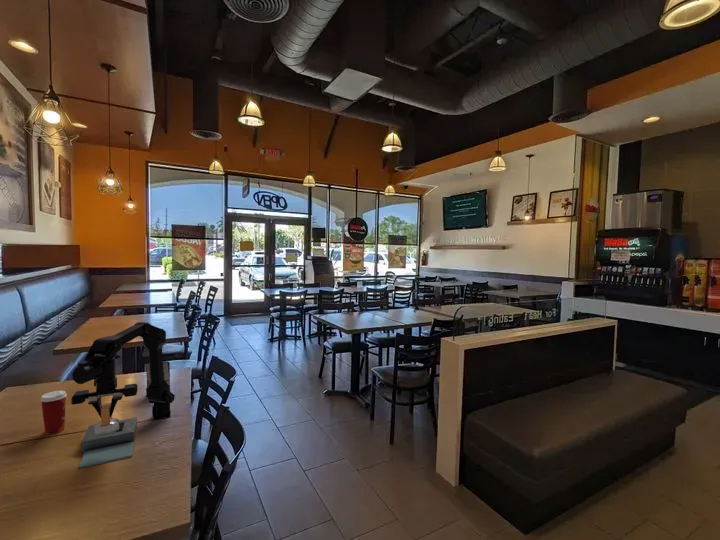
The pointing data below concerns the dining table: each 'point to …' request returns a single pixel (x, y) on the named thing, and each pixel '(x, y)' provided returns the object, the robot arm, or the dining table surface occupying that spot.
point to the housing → (110, 436)
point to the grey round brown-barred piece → (106, 422)
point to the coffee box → (166, 373)
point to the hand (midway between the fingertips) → (106, 417)
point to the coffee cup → (54, 411)
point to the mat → (106, 454)
